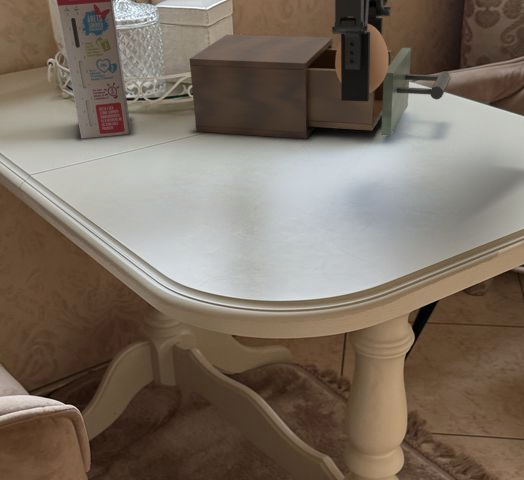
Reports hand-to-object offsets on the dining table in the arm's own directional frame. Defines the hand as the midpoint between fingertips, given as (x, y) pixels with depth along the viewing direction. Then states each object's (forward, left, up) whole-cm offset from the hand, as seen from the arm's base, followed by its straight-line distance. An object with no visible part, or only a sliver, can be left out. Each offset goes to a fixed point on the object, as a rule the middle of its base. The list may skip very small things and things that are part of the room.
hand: (361, 90), depth 82 cm
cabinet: (+18, -22, -11) cm, 30 cm away
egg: (0, 0, -1) cm, 1 cm away
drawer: (+4, -22, -10) cm, 24 cm away
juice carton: (+39, -14, -11) cm, 43 cm away
